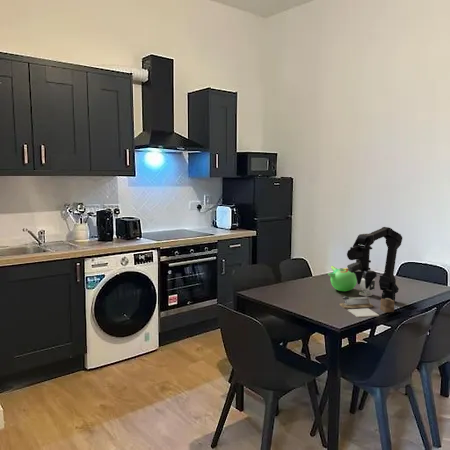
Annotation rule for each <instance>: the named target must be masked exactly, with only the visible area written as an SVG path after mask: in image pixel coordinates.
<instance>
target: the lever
mask: <svg viewBox="0 0 450 450" xmlns="http://www.w3.org/2000/svg"><path fill="white" fill-rule="evenodd" d="M342 299H343V300H344V304H346V305H358V304H371V296H367V297H366V296H357V297H349V296H348V295H344V296H342Z"/></svg>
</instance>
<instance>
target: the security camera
mask: <svg viewBox="0 0 450 450" xmlns="http://www.w3.org/2000/svg"><path fill="white" fill-rule="evenodd" d="M359 289H360V290H362V291H359V292H358V295H360V296H361V297H371V296H373V293H372V291H375V289H376V279H375V278H374V279H373V281H372V282H371V284H370V286H369V287H368V289H366V288H365V279H364V278H363V277H362V279H361V282H360V284H359ZM370 291H371V292H370Z"/></svg>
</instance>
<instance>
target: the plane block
mask: <svg viewBox="0 0 450 450" xmlns="http://www.w3.org/2000/svg"><path fill="white" fill-rule="evenodd" d="M344 303H345V302H344ZM344 303H340V302H339V306H340V307H341V308H343V309H365V308H374V304H372V303H370V304H358V305H346V304H344Z"/></svg>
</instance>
